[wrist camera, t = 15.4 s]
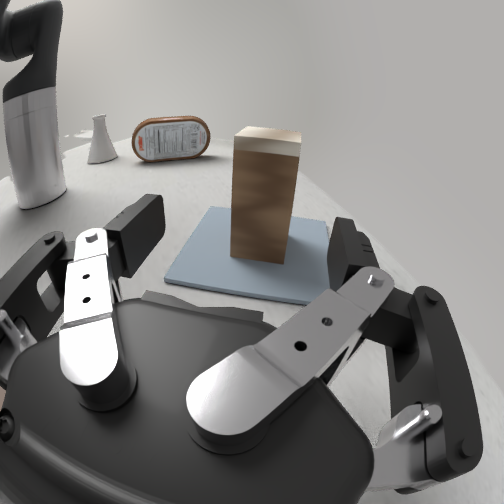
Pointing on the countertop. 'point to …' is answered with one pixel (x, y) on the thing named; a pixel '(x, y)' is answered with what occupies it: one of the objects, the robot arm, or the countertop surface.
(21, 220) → the countertop surface
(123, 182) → the countertop surface
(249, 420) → the robot arm
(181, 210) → the countertop surface
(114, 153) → the flask
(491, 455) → the countertop surface
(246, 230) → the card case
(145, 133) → the tin
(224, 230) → the mat
